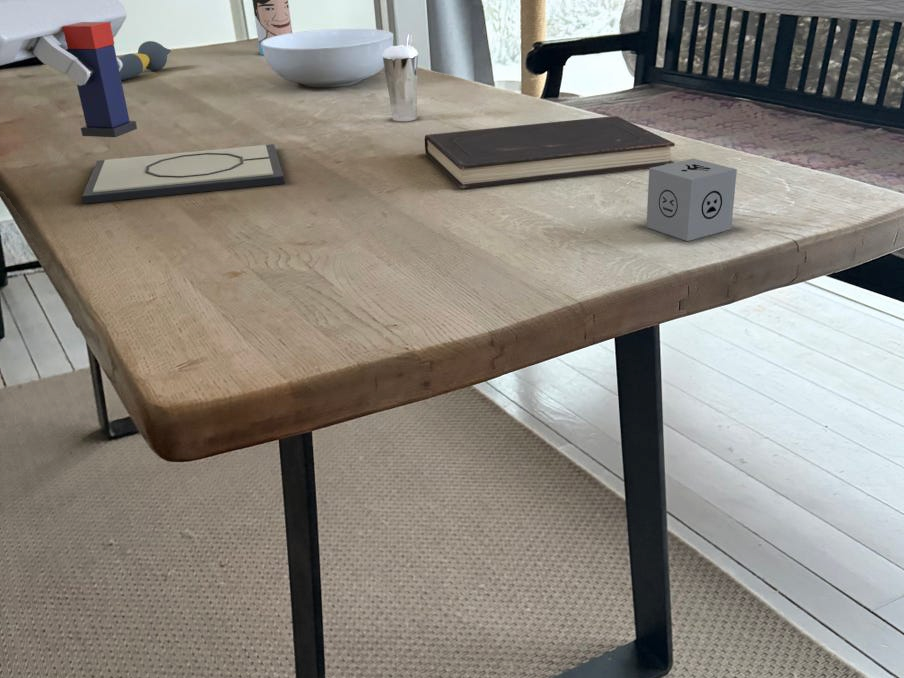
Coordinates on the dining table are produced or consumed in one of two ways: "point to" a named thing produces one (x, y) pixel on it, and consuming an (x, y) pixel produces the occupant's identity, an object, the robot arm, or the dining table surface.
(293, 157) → the dining table surface
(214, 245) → the dining table surface
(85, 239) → the dining table surface
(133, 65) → the paintbrush
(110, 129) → the blue and red block
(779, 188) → the dining table surface
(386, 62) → the milkshake
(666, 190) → the dice cube
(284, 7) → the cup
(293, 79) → the serving bowl
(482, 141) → the hardcover book
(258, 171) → the beige flat board
